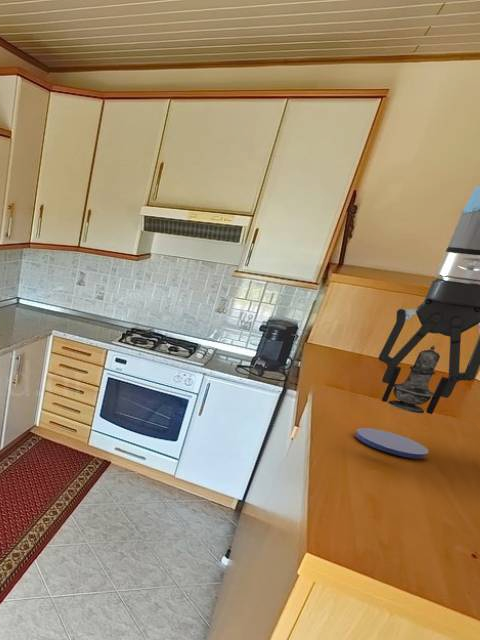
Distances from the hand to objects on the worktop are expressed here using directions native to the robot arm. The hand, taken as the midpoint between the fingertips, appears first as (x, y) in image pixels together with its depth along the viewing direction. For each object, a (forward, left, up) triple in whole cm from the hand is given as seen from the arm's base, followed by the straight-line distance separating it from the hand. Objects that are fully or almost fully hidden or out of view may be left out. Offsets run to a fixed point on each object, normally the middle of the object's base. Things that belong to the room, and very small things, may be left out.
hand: (406, 405), depth 91 cm
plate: (+8, -9, -12) cm, 17 cm away
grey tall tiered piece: (0, 0, -1) cm, 1 cm away
